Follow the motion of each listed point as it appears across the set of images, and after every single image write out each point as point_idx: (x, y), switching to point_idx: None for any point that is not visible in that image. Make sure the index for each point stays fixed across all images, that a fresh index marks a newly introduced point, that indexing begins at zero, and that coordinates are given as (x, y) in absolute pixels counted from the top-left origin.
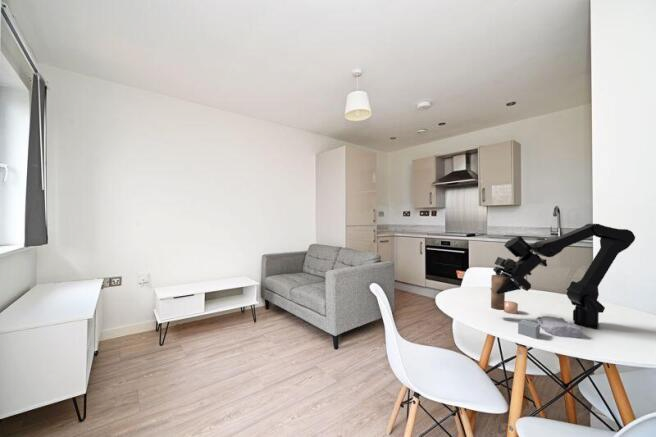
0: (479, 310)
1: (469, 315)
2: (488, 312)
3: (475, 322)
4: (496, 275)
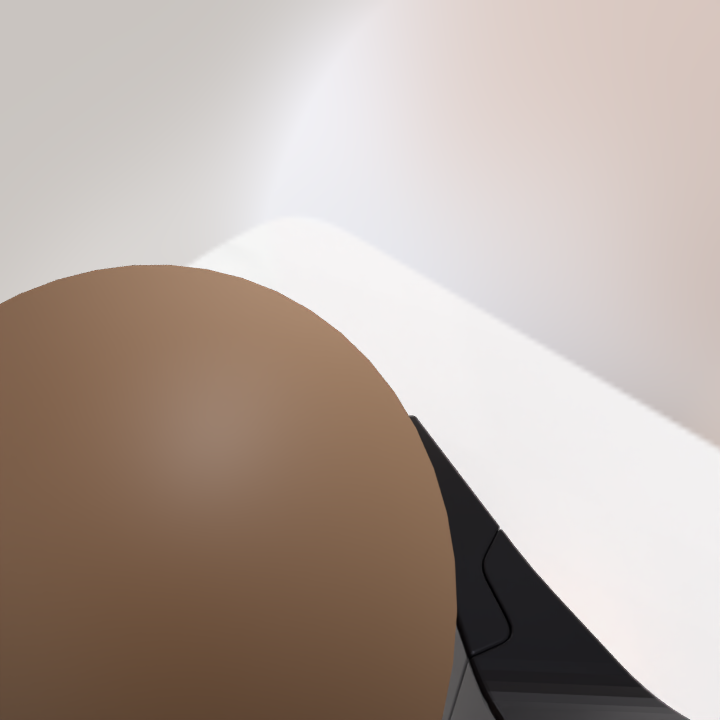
0: (510, 398)
1: (364, 272)
2: (474, 458)
3: (225, 264)
4: (257, 549)
